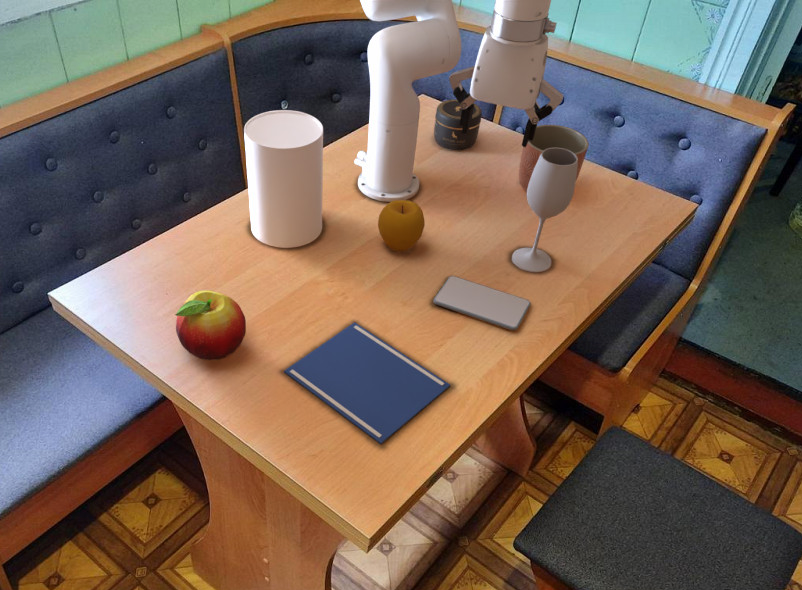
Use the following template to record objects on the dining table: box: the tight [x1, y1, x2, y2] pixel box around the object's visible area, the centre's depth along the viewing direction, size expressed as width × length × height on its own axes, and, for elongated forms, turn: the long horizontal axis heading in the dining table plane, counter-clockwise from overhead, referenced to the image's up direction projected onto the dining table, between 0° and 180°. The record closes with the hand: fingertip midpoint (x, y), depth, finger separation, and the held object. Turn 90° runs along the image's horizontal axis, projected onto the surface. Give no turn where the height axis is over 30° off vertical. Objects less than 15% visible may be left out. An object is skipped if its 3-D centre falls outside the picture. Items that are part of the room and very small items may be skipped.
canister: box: [243, 109, 324, 249], centre depth 132 cm, size 14×14×20 cm
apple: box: [377, 199, 426, 253], centre depth 132 cm, size 8×8×9 cm
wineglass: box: [511, 148, 578, 273], centre depth 126 cm, size 8×8×21 cm
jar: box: [433, 98, 483, 152], centre depth 161 cm, size 10×10×8 cm
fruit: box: [174, 289, 247, 361], centre depth 112 cm, size 11×11×10 cm
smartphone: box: [433, 275, 532, 331], centre depth 124 cm, size 8×1×15 cm
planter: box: [518, 124, 590, 192], centre depth 147 cm, size 12×12×11 cm
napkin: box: [283, 321, 451, 445], centre depth 111 cm, size 20×16×1 cm
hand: (495, 136), depth 115 cm, fingers open, 9 cm apart
